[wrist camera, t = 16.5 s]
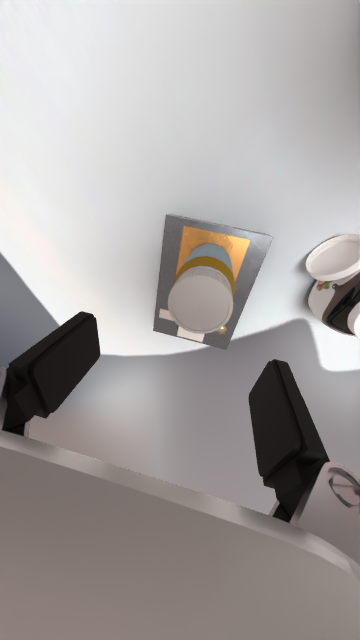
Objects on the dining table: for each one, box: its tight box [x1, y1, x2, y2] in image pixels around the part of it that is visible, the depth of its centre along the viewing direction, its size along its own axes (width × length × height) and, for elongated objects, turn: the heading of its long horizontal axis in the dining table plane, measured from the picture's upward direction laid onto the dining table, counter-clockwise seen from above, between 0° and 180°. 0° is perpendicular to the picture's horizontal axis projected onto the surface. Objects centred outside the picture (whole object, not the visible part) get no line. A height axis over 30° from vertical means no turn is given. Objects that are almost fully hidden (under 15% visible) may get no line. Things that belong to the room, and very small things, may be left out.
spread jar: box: [305, 234, 360, 339], centre depth 25 cm, size 12×11×12 cm
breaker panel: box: [153, 214, 273, 349], centre depth 33 cm, size 16×22×4 cm
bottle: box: [168, 243, 235, 334], centre depth 23 cm, size 7×7×15 cm
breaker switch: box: [177, 326, 205, 342], centre depth 36 cm, size 5×5×5 cm
